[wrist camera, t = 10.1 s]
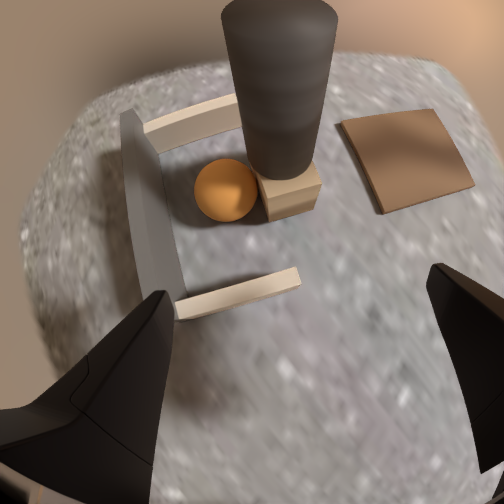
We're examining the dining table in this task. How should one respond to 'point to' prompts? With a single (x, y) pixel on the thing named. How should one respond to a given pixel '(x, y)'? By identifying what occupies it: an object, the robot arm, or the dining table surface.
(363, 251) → the dining table surface
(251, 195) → the ball
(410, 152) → the brown rectangular plate
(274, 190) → the ball
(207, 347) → the dining table surface
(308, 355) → the dining table surface
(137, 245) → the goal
